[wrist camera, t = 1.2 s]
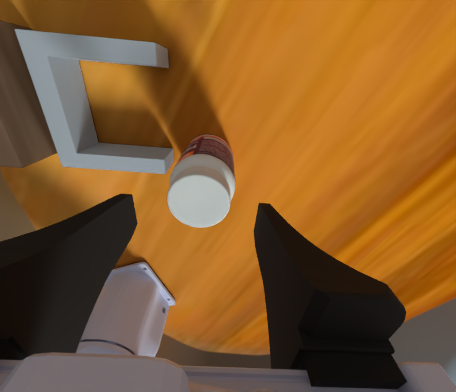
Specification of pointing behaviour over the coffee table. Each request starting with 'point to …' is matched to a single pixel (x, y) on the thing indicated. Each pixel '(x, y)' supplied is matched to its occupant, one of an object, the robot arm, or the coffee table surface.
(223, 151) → the pill bottle
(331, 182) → the coffee table surface
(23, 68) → the wall
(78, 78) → the cradle
